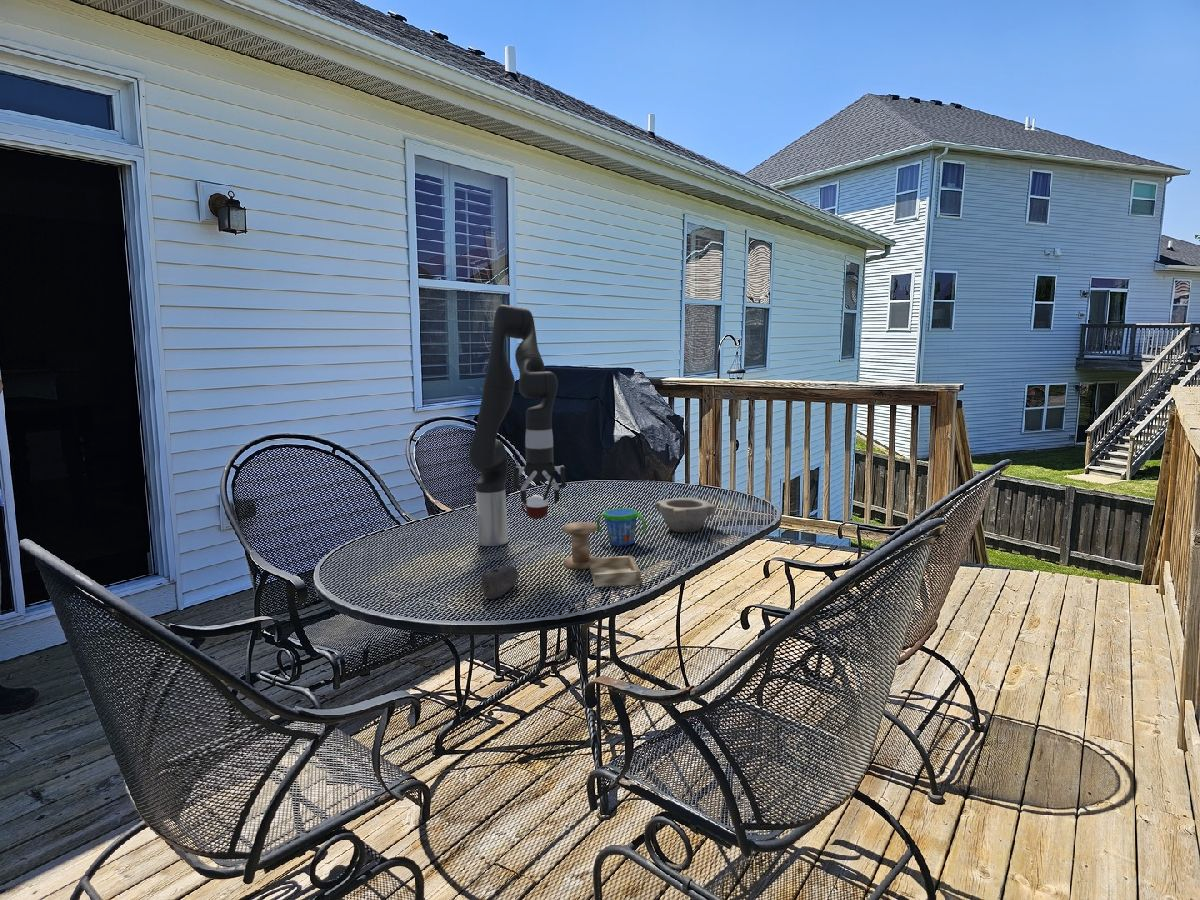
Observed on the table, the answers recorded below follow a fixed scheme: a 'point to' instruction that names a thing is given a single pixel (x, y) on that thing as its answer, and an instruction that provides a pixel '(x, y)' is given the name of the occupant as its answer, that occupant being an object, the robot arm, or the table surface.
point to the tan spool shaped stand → (579, 544)
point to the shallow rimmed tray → (614, 571)
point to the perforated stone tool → (498, 581)
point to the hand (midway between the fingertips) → (540, 503)
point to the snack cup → (621, 525)
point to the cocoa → (538, 504)
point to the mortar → (685, 513)
